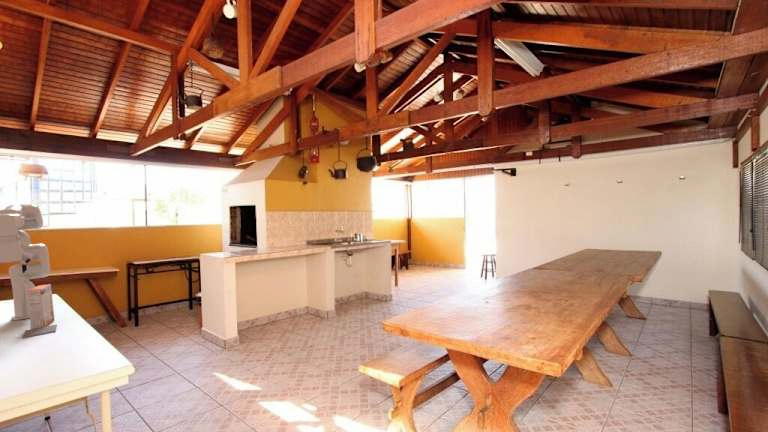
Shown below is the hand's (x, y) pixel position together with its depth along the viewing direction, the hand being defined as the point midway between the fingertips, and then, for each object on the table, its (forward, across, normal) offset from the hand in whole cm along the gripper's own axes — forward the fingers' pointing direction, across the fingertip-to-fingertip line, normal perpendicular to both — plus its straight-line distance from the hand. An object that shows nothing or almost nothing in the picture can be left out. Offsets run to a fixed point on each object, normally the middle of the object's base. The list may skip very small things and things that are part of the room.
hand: (10, 274), depth 181 cm
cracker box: (+31, -9, -15) cm, 36 cm away
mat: (+31, -9, 0) cm, 32 cm away
